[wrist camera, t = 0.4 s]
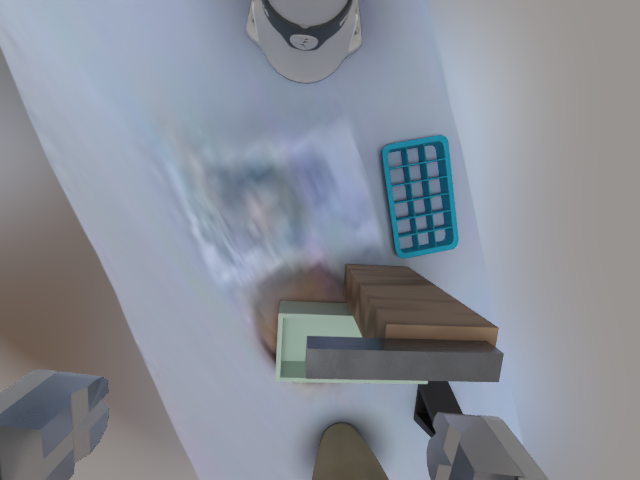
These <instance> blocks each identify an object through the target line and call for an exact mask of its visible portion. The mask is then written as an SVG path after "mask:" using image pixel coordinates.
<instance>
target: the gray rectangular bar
mask: <svg viewBox="0 0 640 480" xmlns="http://www.w3.org/2000/svg"><path fill="white" fill-rule="evenodd" d="M502 360H503V353H502V352H501V351H500V350H498V349H497V348H496V347H494V346H493V345H492V344H491V343H489V342H488V341H470V340H435V339H400V338H366V337H331V336H307V342H306V357H305V374H306V379H349V380H409V381H468V382H499V377H500V372H501V366H502Z"/></svg>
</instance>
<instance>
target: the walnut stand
mask: <svg viewBox="0 0 640 480" xmlns="http://www.w3.org/2000/svg"><path fill="white" fill-rule="evenodd" d="M343 295H344V297H345V299H346V302H347V304H348V306H349V308H350V311H351V313H352V315H353V317H354V320H355V322H356V324H357V326H358V328H359V331H360V333H361V335H362V337H366V338H400V339H435V340H470V341H488V342H489V343H491V344H492V345H493V346H494V347H495V346H496V341H497V335H498V329H499V328H498V327H497V326H495V325H494V324H492V323H491V322H489V321H488V320H486V319H485V318H483V317H482V316H480V315H479V314H477V313H476V312H474V311H473V310H471V309H470V308H468V307H467V306H465V305H464V304H462V303H461V302H459V301H458V300H456V299H455V298H453V297H452V296H450V295H449V294H448V293H446V292H445V291H443V290H442V289H440V288H439V287H437V286H436V285H434V284H433V283H431V282H430V281H428V280H427V279H425V278H424V277H422V276H421V275H419V274H418V273H416V272H415V271H413V270H412V269H410V268H409V267H400V266H380V265H359V264H346V268H345V280H344V292H343Z"/></svg>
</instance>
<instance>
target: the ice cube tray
mask: <svg viewBox="0 0 640 480" xmlns="http://www.w3.org/2000/svg"><path fill="white" fill-rule="evenodd" d="M428 145H433V146H435V148H436V152H437V160H432V161H427V162H426V154H425V146H428ZM417 147H418V154H419V163H416V164H410V165H409V162H408V155H407V149H411V148H417ZM400 150H401V156H402V164H403V166H399V167H394V168H389V164H388V157H387V156H388V153H389V152H395V151H400ZM382 159H383V166H384V173H385V180H386V187H387V195H388V202H389V209H390V216H391V223H392V230H393V237H394V244H395V251H396V254H397V255H398V257H400V258H403V259H405V258H410V257H415V256H420V255H425V254H430V253H435V252H440V251H445V250H450V249H454V248H455V247H456V246H457V244H458V231H457V222H456V212H455V202H454V193H453V183H452V174H451V164H450V154H449V145H448V140H447V138H446V137H445V136H442V135H438V136H432V137H426V138H421V139H415V140H410V141H404V142H399V143H393V144H388V145H386V146H385V147H384V148H383V150H382ZM434 161H438V170H439V177H435V178H429V179H428V171H427V163H429V162H434ZM418 164H420V171H421V179H422V180H418V181H413V182H411V178H410V170H409V166H412V165H418ZM402 167H403V171H404V179H405V183H402V184H397V185H392V186H391V178H390V171H389V170H391V169H396V168H402ZM437 178H439V179H440V188H441V193H439V194H433V195H430V188H429V180H432V179H437ZM421 181H422V188H423V197H417V198H413V194H412V186H411V183H416V182H421ZM400 185H405V187H406V194H407V200H402V201H396V202H394V200H393V193H392V187H394V186H400ZM435 196H441V197H442V206H443V209H441V210H436V211H432V205H431V197H435ZM419 199H424V204H425V213H420V214H415V210H414V202H413V201H414V200H419ZM404 202H408V210H409V216H404V217H399V218H396V214H395V207H394V204H398V203H404ZM442 212H443V215H444V224H445V225H442V226H437V227H434V222H433V214H437V213H442ZM421 216H426V221H427V228H426V229H421V230H417V225H416V217H421ZM405 219H410V225H411V232H406V233H401V234H398V229H397V222H396V221H400V220H405ZM442 229H445V233H446V235H445V239H444V240H443V241H440V242H436V239H435V231H437V230H442ZM426 232H428V237H429V244H425V245H420V246H419V241H418V234H421V233H426ZM411 235H412V240H413V247H410V248H405V249H400V243H399V238H400V237H406V236H411Z"/></svg>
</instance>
